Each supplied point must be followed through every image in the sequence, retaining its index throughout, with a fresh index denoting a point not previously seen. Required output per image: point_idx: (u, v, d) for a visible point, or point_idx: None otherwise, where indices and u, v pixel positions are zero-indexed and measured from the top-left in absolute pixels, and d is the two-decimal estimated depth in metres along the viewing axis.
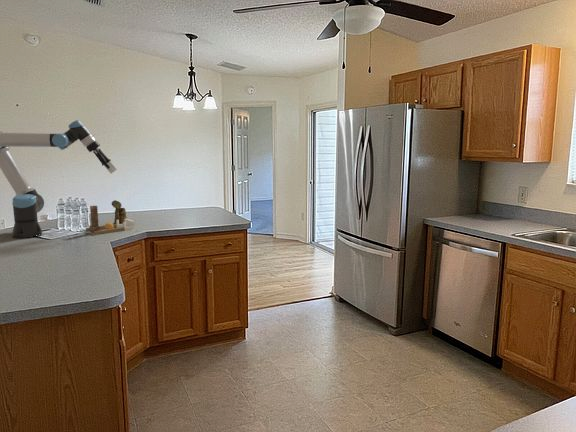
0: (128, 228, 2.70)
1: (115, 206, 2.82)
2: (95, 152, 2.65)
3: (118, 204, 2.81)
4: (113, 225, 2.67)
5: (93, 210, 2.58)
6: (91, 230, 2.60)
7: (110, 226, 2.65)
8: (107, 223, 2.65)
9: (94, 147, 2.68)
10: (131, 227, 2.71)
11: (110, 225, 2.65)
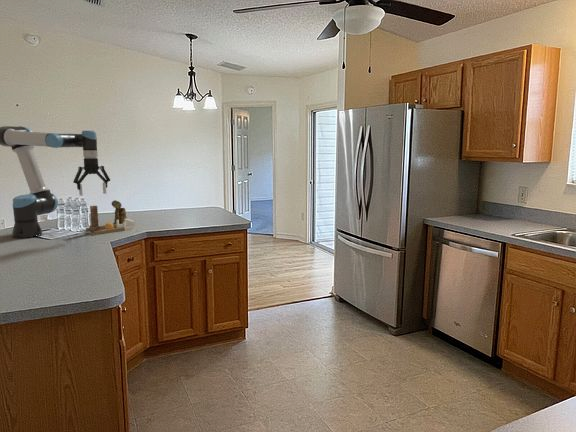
0: (128, 228, 2.70)
1: (115, 206, 2.82)
2: (78, 168, 2.50)
3: (118, 204, 2.81)
4: (113, 225, 2.67)
5: (93, 210, 2.58)
6: (91, 230, 2.60)
7: (110, 226, 2.65)
8: (107, 223, 2.65)
9: (85, 163, 2.51)
10: (131, 227, 2.71)
11: (110, 225, 2.65)
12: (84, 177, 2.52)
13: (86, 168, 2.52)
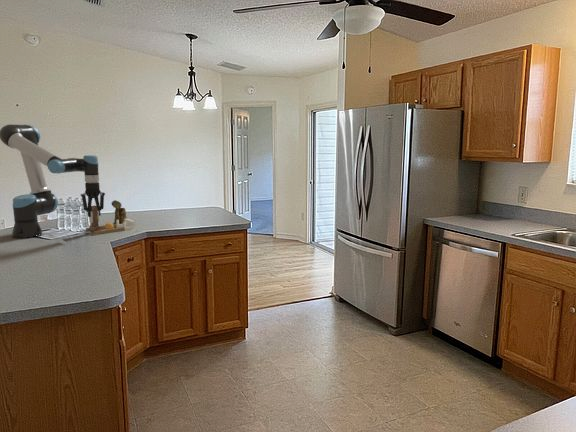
0: (128, 228, 2.70)
1: (115, 206, 2.82)
2: (81, 196, 2.54)
3: (118, 204, 2.81)
4: (113, 225, 2.67)
5: (93, 210, 2.58)
6: (91, 230, 2.60)
7: (110, 226, 2.65)
8: (107, 223, 2.65)
9: None
10: (131, 227, 2.71)
11: (110, 225, 2.65)
12: (91, 203, 2.56)
13: (88, 192, 2.54)
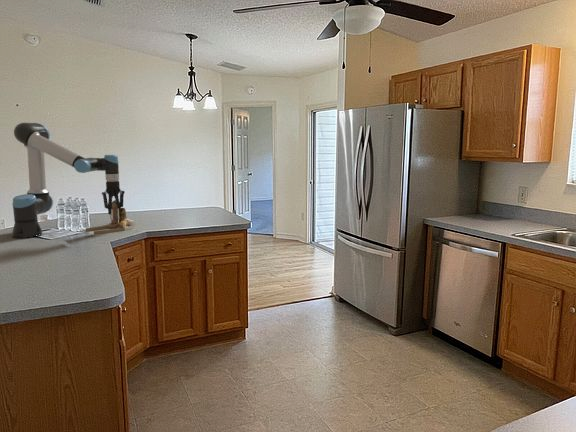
0: (128, 228, 2.70)
1: None
2: (102, 194, 2.62)
3: None
4: (121, 225, 2.71)
5: (113, 208, 2.66)
6: (111, 227, 2.68)
7: None
8: None
9: None
10: (131, 227, 2.71)
11: None
12: (111, 201, 2.64)
13: (108, 191, 2.63)
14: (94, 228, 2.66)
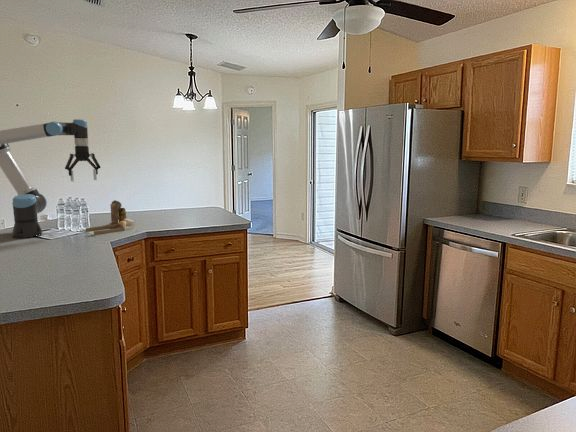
0: (128, 228, 2.70)
1: None
2: (70, 155, 2.63)
3: (118, 204, 2.81)
4: None
5: (113, 208, 2.66)
6: (111, 227, 2.68)
7: None
8: None
9: (76, 151, 2.64)
10: (131, 227, 2.71)
11: None
12: (75, 164, 2.65)
13: (77, 155, 2.65)
14: (94, 228, 2.66)
